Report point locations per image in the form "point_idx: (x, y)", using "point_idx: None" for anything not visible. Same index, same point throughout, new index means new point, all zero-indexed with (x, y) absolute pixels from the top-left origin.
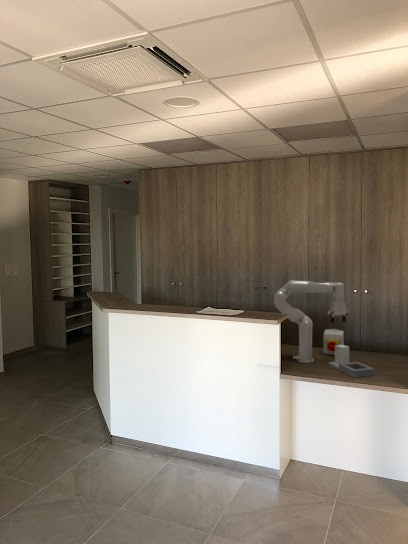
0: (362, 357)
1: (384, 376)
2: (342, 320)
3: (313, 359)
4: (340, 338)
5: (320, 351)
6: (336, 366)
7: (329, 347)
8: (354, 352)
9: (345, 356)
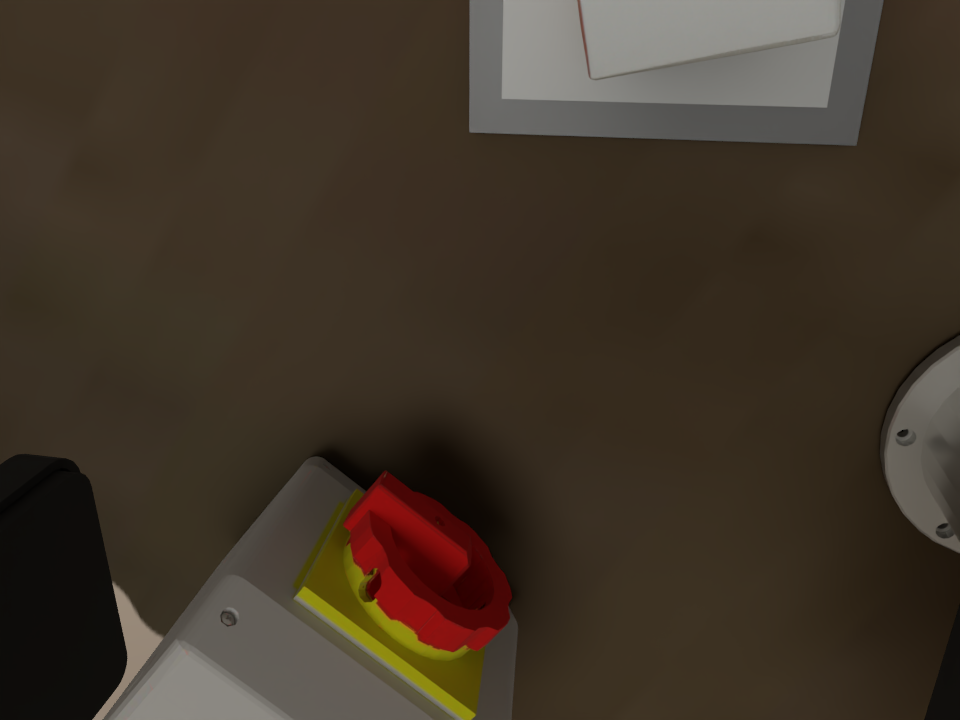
0: (98, 272)
1: None
2: (85, 710)
3: (924, 386)
4: (251, 604)
5: None
6: None
7: (462, 594)
8: None
9: None
